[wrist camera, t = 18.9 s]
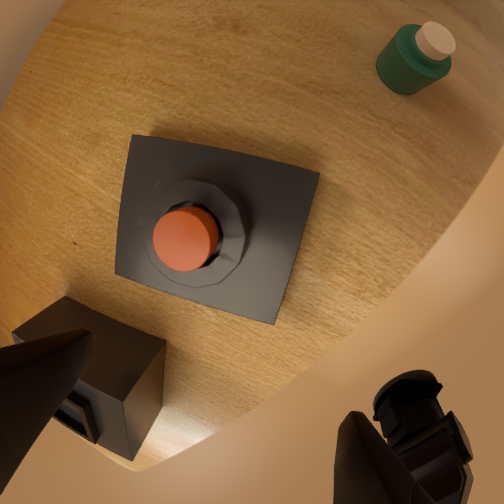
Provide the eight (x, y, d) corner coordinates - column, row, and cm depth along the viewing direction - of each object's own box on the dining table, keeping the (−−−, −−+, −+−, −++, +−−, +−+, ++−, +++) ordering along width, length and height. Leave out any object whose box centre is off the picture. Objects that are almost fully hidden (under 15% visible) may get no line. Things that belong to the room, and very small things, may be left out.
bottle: (425, 64, 13) (469, 33, 7) (417, 103, 14) (465, 81, 8) (381, 42, 13) (411, -2, 7) (371, 81, 15) (404, 44, 8)
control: (316, 172, 17) (323, 173, 13) (276, 310, 20) (271, 340, 16) (147, 136, 18) (116, 131, 14) (129, 264, 21) (100, 282, 17)
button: (224, 213, 15) (216, 219, 13) (213, 268, 16) (204, 279, 14) (171, 200, 15) (157, 204, 13) (163, 253, 16) (149, 262, 14)
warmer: (166, 340, 22) (115, 412, 14) (162, 408, 26) (128, 469, 17) (64, 295, 23) (3, 337, 15) (74, 365, 26) (32, 409, 18)
